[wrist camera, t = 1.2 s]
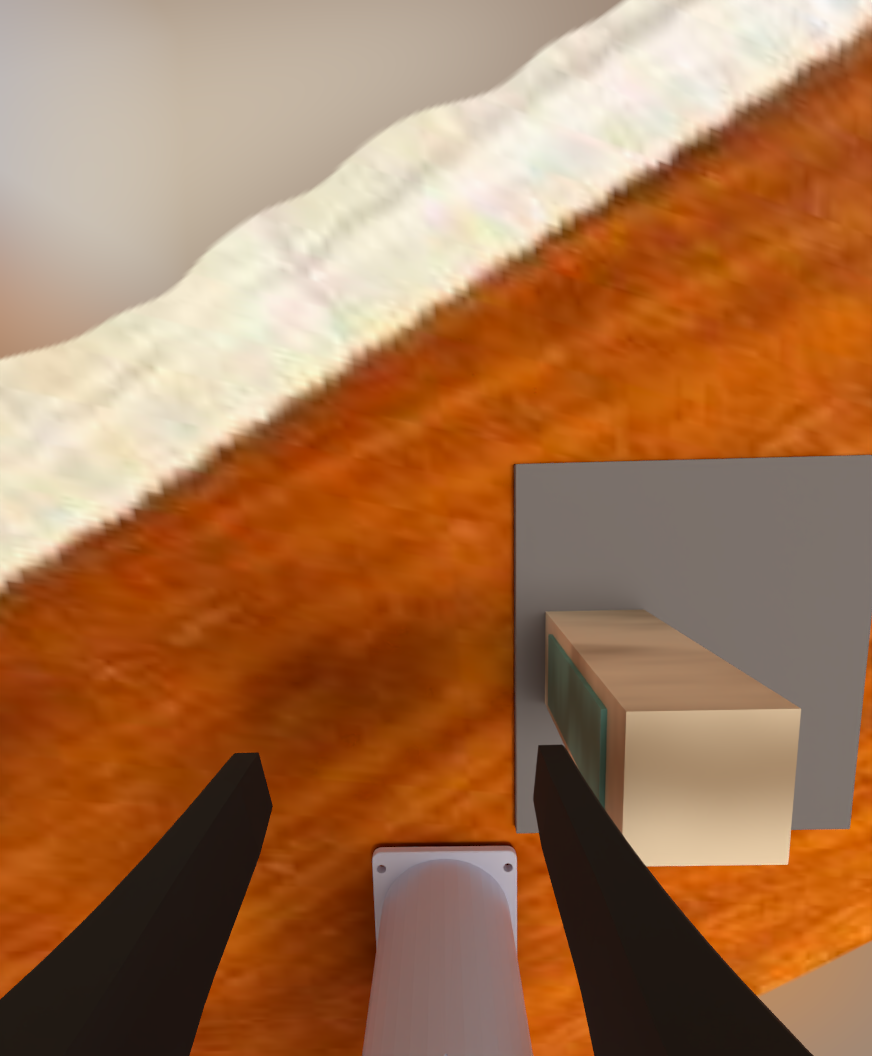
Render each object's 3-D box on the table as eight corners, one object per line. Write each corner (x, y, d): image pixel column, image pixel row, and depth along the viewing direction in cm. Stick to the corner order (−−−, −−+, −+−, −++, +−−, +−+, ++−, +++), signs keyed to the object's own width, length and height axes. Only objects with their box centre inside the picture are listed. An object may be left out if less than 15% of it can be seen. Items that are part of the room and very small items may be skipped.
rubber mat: (840, 821, 22) (849, 828, 22) (515, 825, 23) (516, 833, 22) (876, 455, 20) (888, 454, 19) (514, 464, 20) (515, 464, 20)
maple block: (640, 701, 21) (788, 864, 12) (541, 703, 21) (614, 866, 12) (644, 609, 20) (801, 708, 12) (541, 611, 21) (619, 711, 12)
